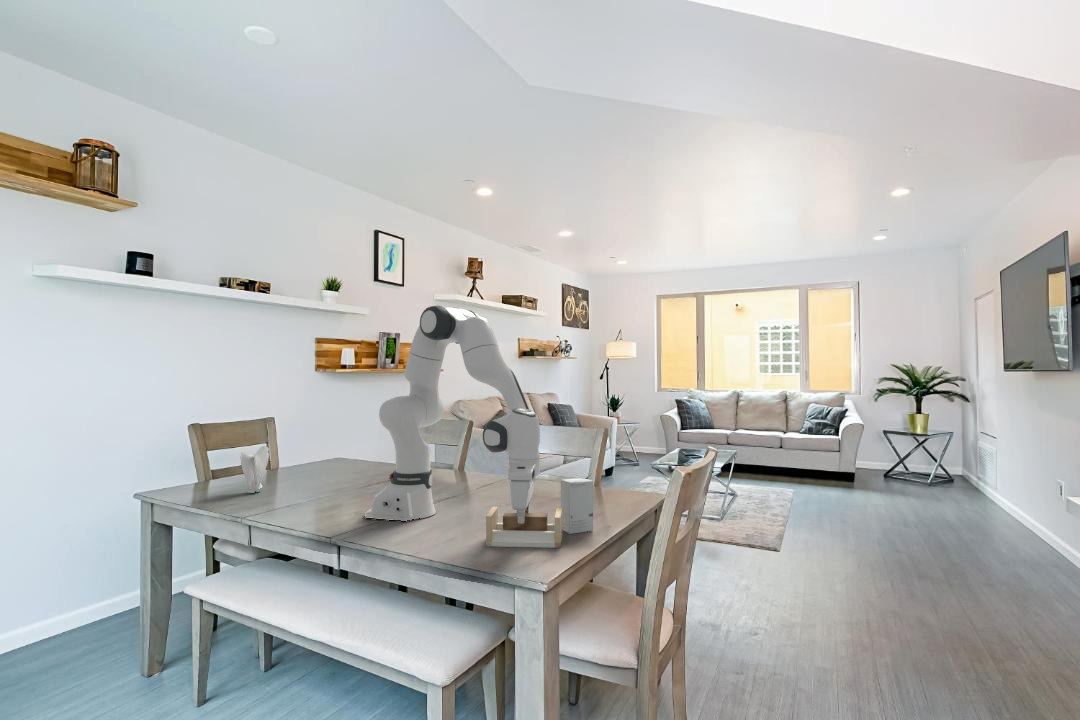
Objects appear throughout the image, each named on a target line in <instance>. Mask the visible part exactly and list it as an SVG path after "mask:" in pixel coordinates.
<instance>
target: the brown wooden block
mask: <svg viewBox="0 0 1080 720" xmlns="http://www.w3.org/2000/svg"><path fill="white" fill-rule="evenodd" d="M502 523H503V530H517V531H548V525H547V524H548V512H547V513H545V512H544V513H542V512H536V513H535V512H534V513H533V512H528V513H525V522H524V523H523V524H519V523H518V516H517V512H504V514H503V515H502Z"/></svg>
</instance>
